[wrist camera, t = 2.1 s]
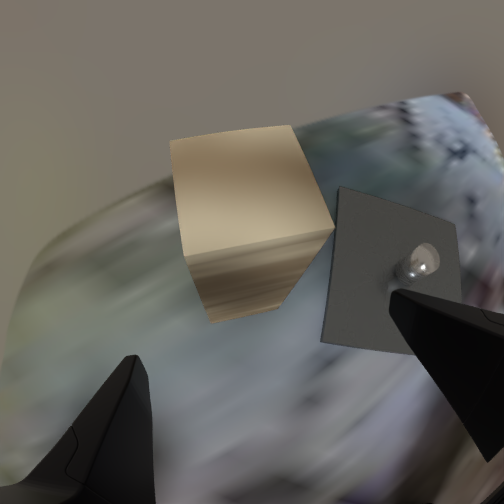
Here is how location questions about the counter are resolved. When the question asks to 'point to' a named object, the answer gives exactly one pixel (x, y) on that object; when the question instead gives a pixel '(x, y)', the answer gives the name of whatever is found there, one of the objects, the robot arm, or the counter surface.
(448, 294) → the post plate
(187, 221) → the birch post
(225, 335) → the counter surface
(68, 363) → the counter surface
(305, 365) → the counter surface
